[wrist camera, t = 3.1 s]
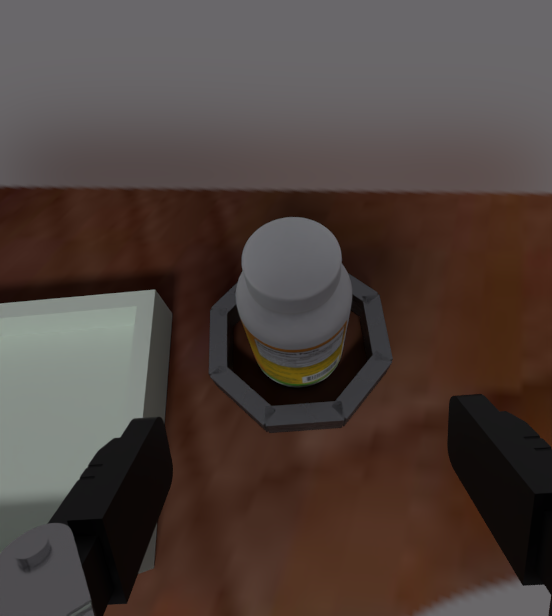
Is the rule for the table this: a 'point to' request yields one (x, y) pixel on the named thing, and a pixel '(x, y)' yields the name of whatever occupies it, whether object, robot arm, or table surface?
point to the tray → (73, 394)
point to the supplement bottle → (294, 300)
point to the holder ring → (309, 413)
